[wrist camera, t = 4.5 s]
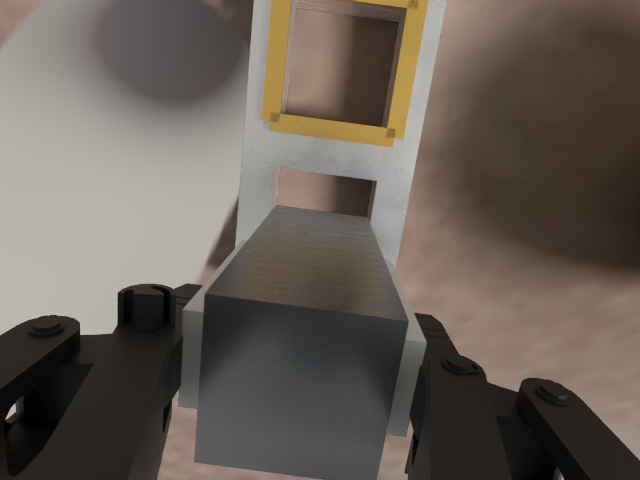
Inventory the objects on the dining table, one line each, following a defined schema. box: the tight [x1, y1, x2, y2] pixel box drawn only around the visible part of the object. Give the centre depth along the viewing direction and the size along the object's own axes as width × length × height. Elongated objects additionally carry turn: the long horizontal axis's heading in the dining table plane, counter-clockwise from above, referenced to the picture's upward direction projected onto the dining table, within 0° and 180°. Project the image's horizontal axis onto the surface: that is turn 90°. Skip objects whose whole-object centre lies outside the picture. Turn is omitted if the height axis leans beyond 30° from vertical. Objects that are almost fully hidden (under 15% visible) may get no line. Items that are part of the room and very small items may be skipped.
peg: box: [194, 205, 409, 480], centre depth 15 cm, size 4×4×11 cm
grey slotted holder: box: [235, 0, 447, 270], centre depth 24 cm, size 19×10×3 cm, turn 173°
